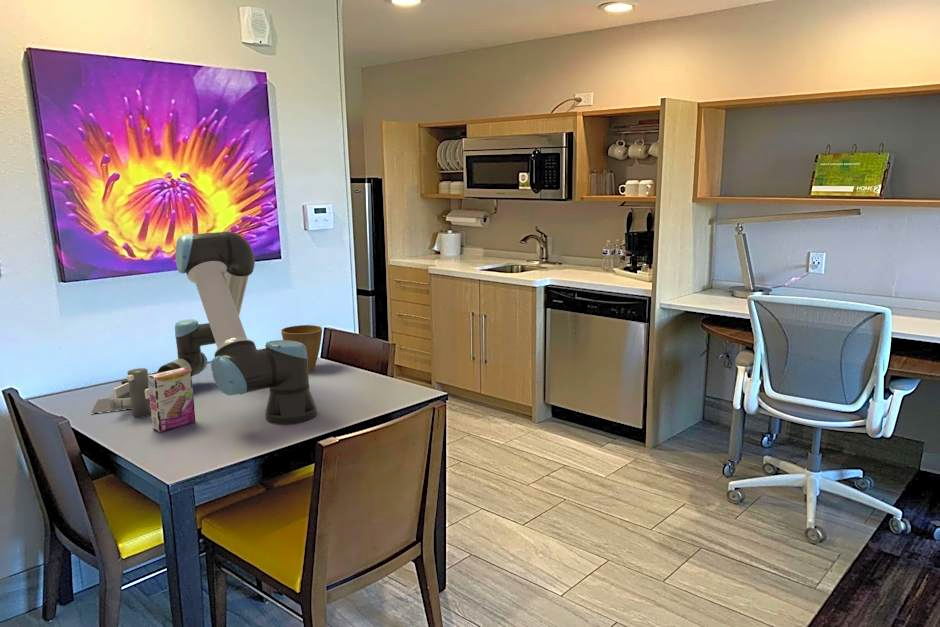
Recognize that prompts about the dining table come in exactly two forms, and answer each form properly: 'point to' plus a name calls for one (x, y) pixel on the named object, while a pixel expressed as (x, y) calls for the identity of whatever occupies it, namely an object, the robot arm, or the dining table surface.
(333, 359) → the dining table surface
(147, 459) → the dining table surface
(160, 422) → the candy bar box
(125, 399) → the well
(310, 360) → the plant pot
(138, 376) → the grey tall cylinder
